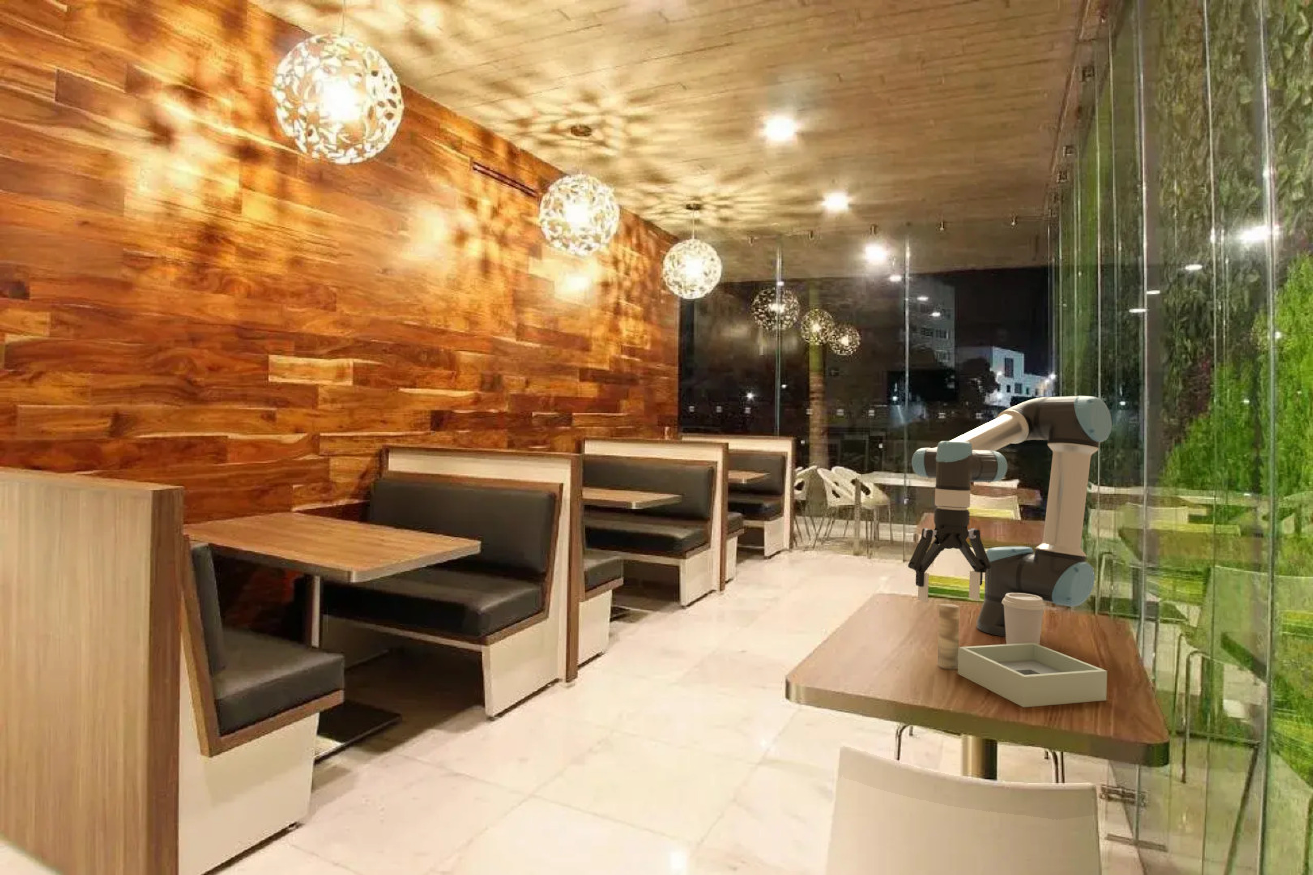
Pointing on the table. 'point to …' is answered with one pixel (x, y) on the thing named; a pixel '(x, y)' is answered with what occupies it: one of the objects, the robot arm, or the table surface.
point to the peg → (948, 636)
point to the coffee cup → (1023, 617)
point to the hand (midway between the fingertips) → (948, 600)
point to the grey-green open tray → (1032, 674)
